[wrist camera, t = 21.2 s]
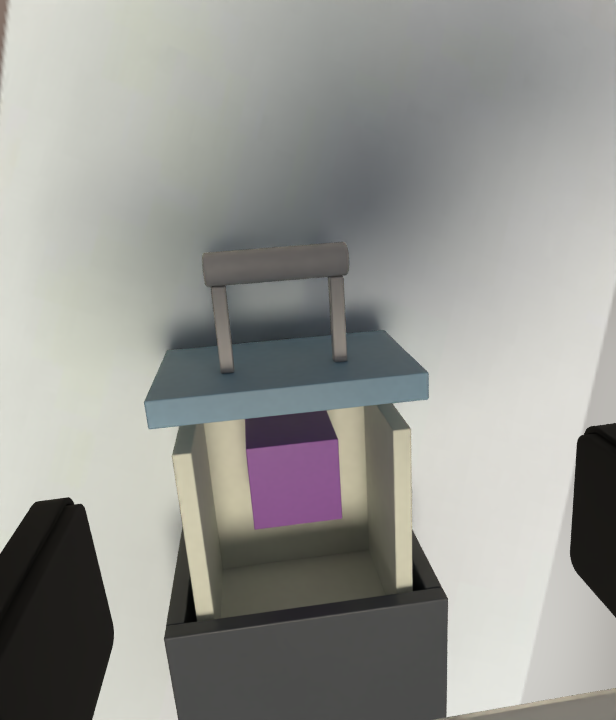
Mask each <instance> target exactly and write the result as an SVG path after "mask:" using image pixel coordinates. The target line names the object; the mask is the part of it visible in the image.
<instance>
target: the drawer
mask: <svg viewBox="0 0 616 720" xmlns="http://www.w3.org/2000/svg"><path fill="white" fill-rule="evenodd" d="M202 266H203V275H204V281H205V285H206V286H207V287H211V295H212V304H213V312H214V321H215V329H216V337H217V346H208V347H198V348H187V349H177V350H167V352H166V354H165V356H164V358H163V361H162V363H161V365H160V367H159V370H158V372H157V374H156V376H155V379H154V381H153V383H152V386H151V388H150V390H149V392H148V395H147V397H146V399H145V401H144V405H145V411H146V417H147V423H148V428H149V429H156V428H166V427H175V426H179V430H178V434H177V438H176V442H175V446H174V450H173V454H172V460H173V467H174V473H175V480H176V486H177V493H178V499H179V506H180V512H181V519H182V525H183V532H184V538H185V545H186V551H187V558H188V564H189V571H190V577H191V584H192V590H193V597H194V604H195V610H196V617H197V622H198V621H205V620H212V619H219V618H226V617H234V616H241V615H248V614H255V613H262V612H269V611H276V610H283V609H291V608H298V607H305V606H312V605H319V604H326V603H333V602H340V601H348V600H355V599H362V598H369V597H376V596H383V595H390V594H397V593H405V592H412V591H413V584H412V487H411V429H410V427H409V426H408V424H407V423H406V422H405V420H404V419H403V417H402V416H401V415H400V413H399V412H398V410H397V409H396V408H395V406H394V405H393V404H392V403H399V402H408V401H418V400H427V399H428V398H429V373H428V372H427V371H426V370H425V369H424V368H423V367H422V366H421V365H420V364H419V363H418V362H417V361H416V360H415V359H414V358H413V357H412V356H410V355H409V354H408V353H407V352H406V351H405V350H404V349H403V348H402V347H401V346H400V345H399V344H398V343H397V342H396V341H395V340H394V339H393V338H392V337H391V336H390V335H389V334H388V333H387V332H386V331H384V330H378V331H368V332H357V333H346V320H345V298H344V278H343V275H347V274H348V271H349V253H348V248H347V245H346V243H345V242H336V243H323V244H310V245H298V246H285V247H272V248H259V249H246V250H234V251H221V252H208V253H203V255H202ZM320 277H328V287H329V305H330V324H331V335H325V336H315V337H304V338H293V339H283V340H272V341H262V342H251V343H240V344H232V340H231V331H230V322H229V313H228V304H227V295H226V286H225V285H236V284H248V283H260V282H272V281H284V280H296V279H308V278H320ZM324 410H327V413H328V415H329V418H330V420H331V423H332V425H333V428H334V430H335V433H336V435H337V438H338V446H339V464H340V483H341V502H342V519H336V520H328V521H320V522H312V523H304V524H296V525H288V526H280V527H272V528H264V529H257V530H255V529H254V522H253V512H252V503H251V494H250V485H249V475H248V466H247V457H246V442H245V419H250V418H259V417H268V416H278V415H287V414H296V413H306V412H315V411H324Z"/></svg>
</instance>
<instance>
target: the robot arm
mask: <svg viewBox="0 0 616 720" xmlns="http://www.w3.org/2000/svg"><path fill="white" fill-rule="evenodd" d="M570 557H571V562H572V564H573V567H574V569H575V571H576V572H577V574H578V575H579V576H580V577H581V578H582V579H583V580H584V582H585V583H586V584H587V585H588V586H589V587H590V589H591V590H592V591H593V592H594V593H595V594H596V595H597V597H598V598H599V599H600V600H601V601H602V602H603V603H604V605H605V606H607V608H608V609H609V610H610V611H611V613H612V614H613V615H614V616H615V617H616V423H613V424H606V425H599V426H591V427H589V428H587V429H586V431H585V433H584V435H581V436H580V437H579V439H578V441H577V451H576V467H575V482H574V498H573V515H572V530H571V545H570ZM113 640H114V629H113V622H112V618H111V614H110V610H109V605H108V601H107V597H106V593H105V589H104V585H103V581H102V577H101V572H100V568H99V564H98V560H97V556H96V552H95V548H94V543H93V539H92V535H91V531H90V527H89V523H88V519H87V514H86V511H85V508H84V506H83V505H82V504H76V505H74V502H73V501H72V499H71V498H69V497H68V498H60V499H53V500H45V501H38V502H35V503H34V504H33V505H32V506H31V508H30V510H29V511H28V513H27V514H26V516H25V517H24V519H23V520H22V522H21V523H20V525H19V526H18V528H17V529H16V531H15V532H14V534H13V535H12V537H11V538H10V540H9V541H8V543H7V544H6V546H5V547H4V549H3V551H2V552H1V554H0V720H92V718H93V715H94V711H95V707H96V704H97V700H98V697H99V693H100V690H101V686H102V682H103V679H104V675H105V672H106V668H107V665H108V661H109V658H110V654H111V650H112V646H113ZM435 720H616V688H613V689H607V690H601V691H595V692H590V693H584V694H577V695H572V696H566V697H560V698H555V699H549V700H543V701H537V702H532V703H526V704H520V705H515V706H509V707H503V708H498V709H492V710H486V711H480V712H475V713H469V714H463V715H458V716H452V717H447V718H441V719H435Z"/></svg>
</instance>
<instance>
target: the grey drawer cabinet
mask: <svg viewBox="0 0 616 720" xmlns="http://www.w3.org/2000/svg"><path fill="white" fill-rule="evenodd" d="M412 584H413V591H412V592H405V593H397V594H390V595H383V596H376V597H369V598H362V599H355V600H348V601H340V602H333V603H326V604H319V605H312V606H305V607H298V608H291V609H283V610H276V611H269V612H262V613H255V614H248V615H241V616H234V617H226V618H219V619H212V620H205V621H198V622H197V617H196V610H195V604H194V597H193V590H192V584H191V577H190V571H189V564H188V558H187V551H186V545H185V538H184V532H183V527H182V533H181V539H180V545H179V551H178V557H177V563H176V569H175V575H174V581H173V587H172V593H171V599H170V606H169V612H168V618H167V624H166V631H165V637H164V642H165V647H166V653H167V658H168V664H169V670H170V675H171V681H172V687H173V692H174V698H175V704H176V709H177V715H178V720H435V719H441V718H446V704H447V625H448V598H447V596H446V594H445V592H444V590H443V588H442V587H441V585H440V583H439V581H438V579H437V577H436V575H435V573H434V571H433V569H432V567H431V565H430V563H429V561H428V559H427V557H426V556H425V554H424V552H423V550H422V548H421V546H420V544H419V542H418V540H417V538H416V536H415V534H414V532H413V530H412Z"/></svg>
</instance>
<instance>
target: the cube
mask: <svg viewBox="0 0 616 720" xmlns="http://www.w3.org/2000/svg"><path fill="white" fill-rule="evenodd" d="M245 442H246V457H247V466H248V475H249V485H250V494H251V503H252V512H253V522H254V529H255V530H257V529H264V528H272V527H280V526H288V525H296V524H304V523H312V522H320V521H328V520H336V519H342V502H341V483H340V464H339V446H338V438H337V435H336V433H335V430H334V428H333V425H332V423H331V420H330V418H329V415H328V413H327V410H324V411H315V412H306V413H296V414H287V415H278V416H268V417H259V418H250V419H245Z"/></svg>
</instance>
